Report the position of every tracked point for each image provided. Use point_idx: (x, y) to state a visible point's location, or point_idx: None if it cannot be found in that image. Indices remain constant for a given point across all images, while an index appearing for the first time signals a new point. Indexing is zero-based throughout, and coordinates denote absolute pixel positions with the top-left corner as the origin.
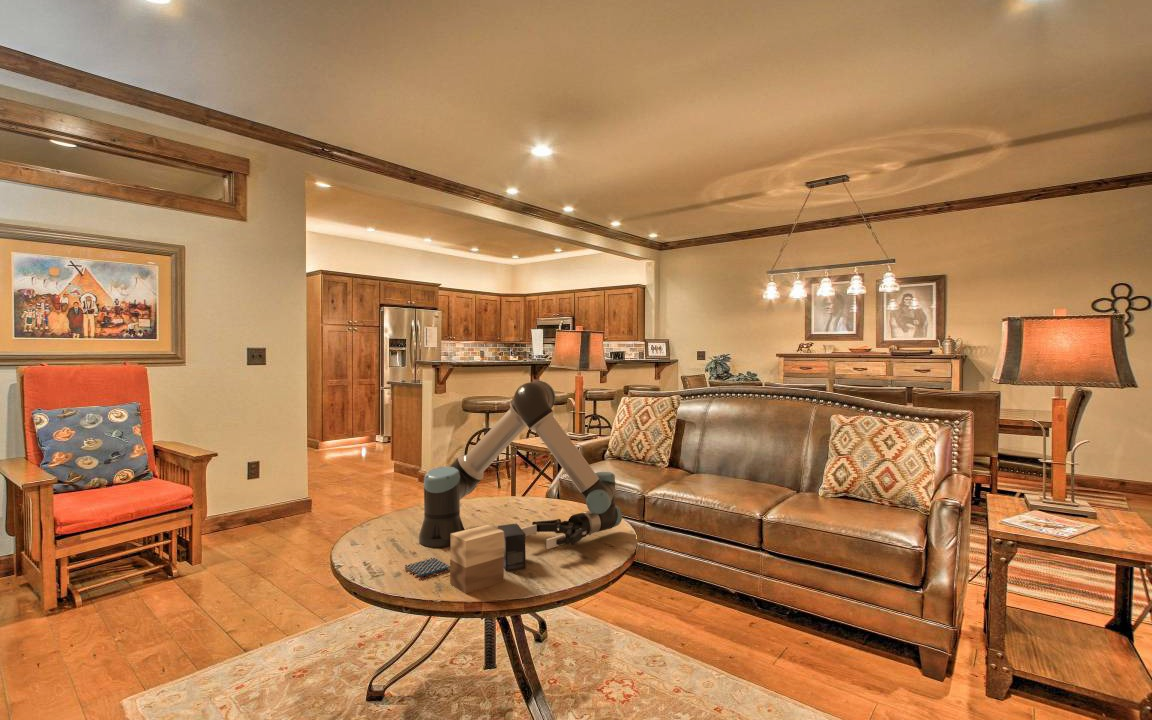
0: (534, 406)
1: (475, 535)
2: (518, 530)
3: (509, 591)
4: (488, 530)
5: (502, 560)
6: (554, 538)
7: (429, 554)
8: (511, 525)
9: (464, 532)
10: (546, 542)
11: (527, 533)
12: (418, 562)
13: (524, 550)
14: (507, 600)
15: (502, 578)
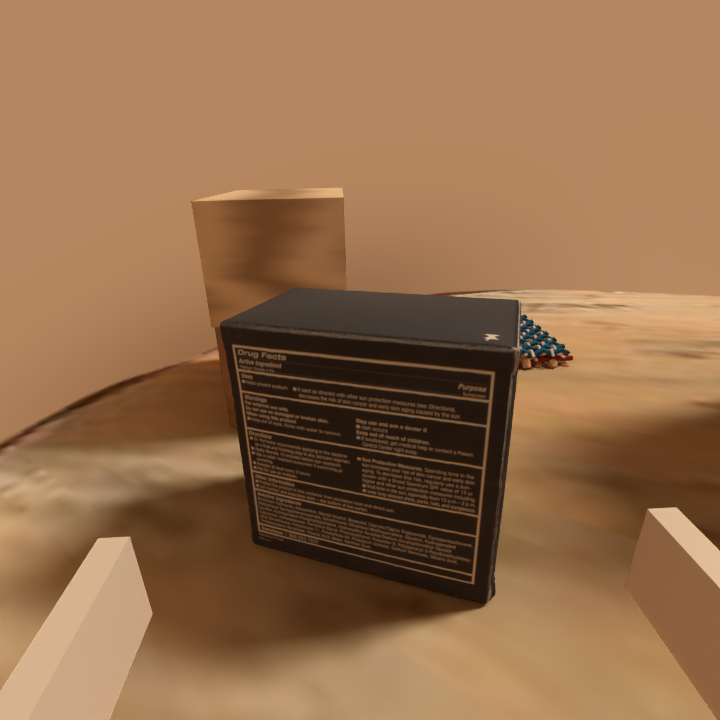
0: None
1: (257, 192)
2: (312, 316)
3: (145, 411)
4: (264, 196)
5: (218, 341)
6: (34, 649)
7: (661, 372)
8: (464, 321)
9: (318, 190)
10: (132, 564)
11: (708, 670)
12: (539, 330)
13: (241, 435)
14: (109, 391)
15: (229, 412)
